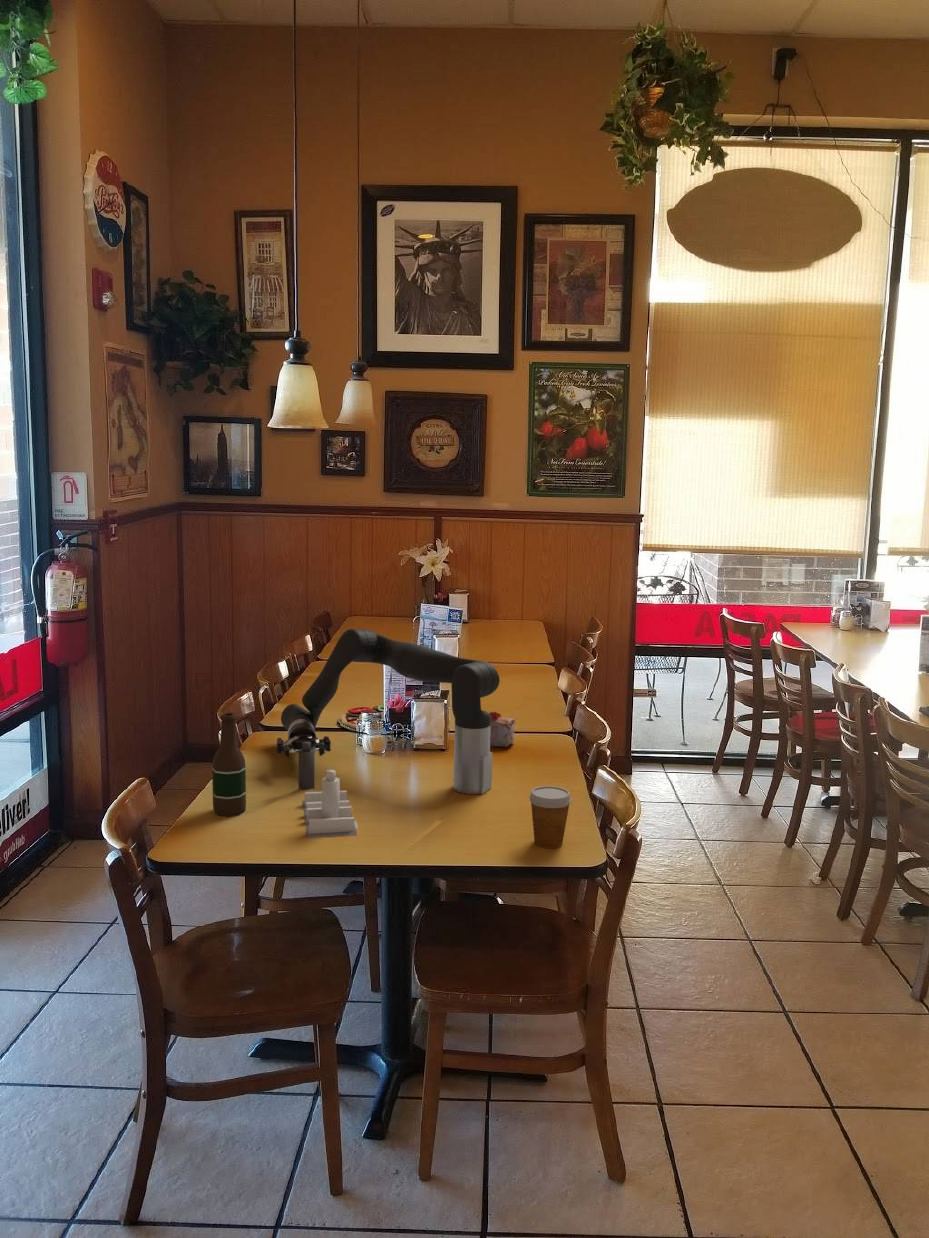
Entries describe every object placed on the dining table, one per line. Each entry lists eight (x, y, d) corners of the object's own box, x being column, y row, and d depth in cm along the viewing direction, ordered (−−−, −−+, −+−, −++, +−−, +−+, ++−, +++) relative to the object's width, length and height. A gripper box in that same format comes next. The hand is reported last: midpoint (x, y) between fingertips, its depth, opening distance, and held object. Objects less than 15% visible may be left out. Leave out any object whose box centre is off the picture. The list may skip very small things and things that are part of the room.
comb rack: (302, 806, 249) (302, 788, 248) (350, 804, 251) (350, 786, 250) (307, 844, 226) (307, 824, 225) (359, 841, 228) (360, 822, 227)
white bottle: (342, 824, 234) (343, 769, 232) (333, 830, 230) (333, 774, 228) (327, 821, 235) (327, 767, 233) (318, 827, 232) (318, 772, 229)
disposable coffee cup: (566, 835, 235) (568, 785, 233) (572, 851, 225) (574, 799, 223) (525, 834, 234) (527, 784, 232) (529, 851, 225) (531, 799, 223)
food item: (517, 743, 307) (518, 711, 305) (510, 750, 299) (511, 718, 298) (474, 738, 311) (475, 706, 309) (466, 745, 304) (467, 713, 302)
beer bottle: (232, 803, 250) (231, 708, 246) (252, 811, 245) (251, 714, 241) (206, 811, 244) (204, 714, 240) (226, 819, 239) (225, 720, 235)
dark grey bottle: (317, 791, 260) (317, 741, 258) (309, 795, 256) (309, 746, 254) (304, 788, 262) (304, 739, 259) (295, 793, 258) (295, 743, 256)
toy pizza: (325, 717, 331) (325, 704, 330) (403, 709, 344) (404, 697, 343) (357, 740, 307) (357, 726, 306) (439, 730, 319) (440, 717, 319)
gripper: (275, 723, 280) (276, 739, 265) (327, 721, 283) (332, 738, 268) (275, 749, 282) (277, 767, 266) (327, 747, 285) (332, 765, 269)
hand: (304, 752), depth 267 cm, fingers open, 8 cm apart
